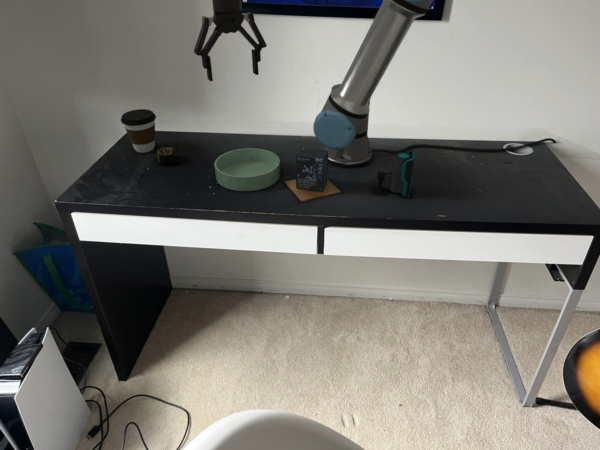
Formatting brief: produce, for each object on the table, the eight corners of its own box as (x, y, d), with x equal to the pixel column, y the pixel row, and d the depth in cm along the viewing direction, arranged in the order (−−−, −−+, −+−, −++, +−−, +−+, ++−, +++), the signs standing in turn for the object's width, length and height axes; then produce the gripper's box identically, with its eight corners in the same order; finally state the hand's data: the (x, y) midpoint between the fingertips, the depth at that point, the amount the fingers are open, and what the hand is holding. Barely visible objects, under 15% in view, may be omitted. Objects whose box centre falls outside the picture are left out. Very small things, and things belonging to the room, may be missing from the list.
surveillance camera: (377, 147, 129) (414, 149, 128) (373, 185, 136) (409, 188, 135) (376, 156, 125) (415, 158, 123) (372, 195, 131) (409, 198, 130)
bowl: (266, 156, 153) (265, 143, 150) (290, 182, 138) (290, 168, 136) (208, 168, 146) (206, 155, 144) (227, 197, 132) (225, 182, 129)
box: (295, 189, 134) (295, 155, 128) (301, 180, 139) (301, 146, 133) (322, 193, 132) (323, 158, 126) (327, 183, 137) (328, 150, 131)
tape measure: (180, 164, 149) (179, 153, 146) (158, 167, 147) (156, 156, 145) (178, 155, 154) (176, 145, 152) (157, 158, 152) (155, 148, 150)
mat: (321, 174, 142) (321, 173, 142) (340, 192, 133) (340, 191, 133) (284, 182, 138) (284, 181, 138) (301, 201, 129) (301, 200, 129)
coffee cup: (136, 141, 164) (128, 107, 157) (166, 142, 162) (160, 109, 156) (122, 155, 155) (113, 120, 148) (154, 156, 153) (146, 121, 147)
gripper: (265, -11, 130) (269, 67, 142) (175, -4, 122) (187, 78, 134) (276, -7, 125) (278, 74, 137) (182, 0, 116) (193, 86, 128)
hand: (233, 76), depth 135 cm, fingers open, 13 cm apart
